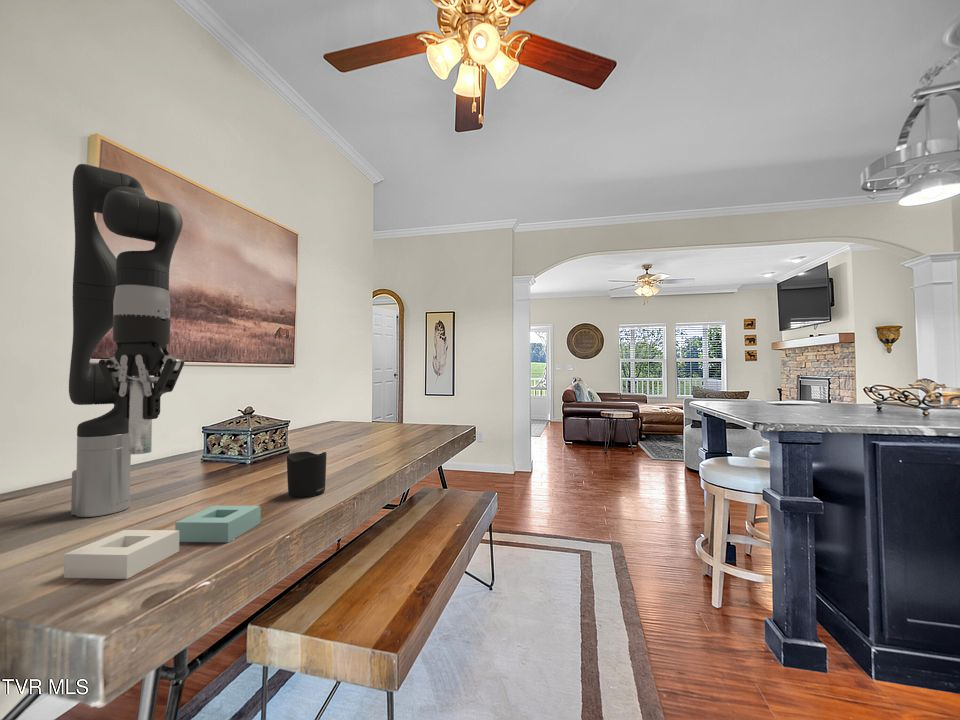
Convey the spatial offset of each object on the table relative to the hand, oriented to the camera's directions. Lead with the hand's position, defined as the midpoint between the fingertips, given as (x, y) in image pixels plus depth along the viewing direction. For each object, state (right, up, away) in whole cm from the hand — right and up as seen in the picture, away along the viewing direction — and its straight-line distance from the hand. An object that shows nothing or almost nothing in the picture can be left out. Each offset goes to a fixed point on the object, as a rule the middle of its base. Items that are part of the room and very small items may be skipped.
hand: (140, 418), depth 71 cm
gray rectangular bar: (0, -6, 0) cm, 6 cm away
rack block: (+7, -23, +11) cm, 27 cm away
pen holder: (+12, -24, +38) cm, 46 cm away
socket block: (0, -23, -3) cm, 23 cm away
